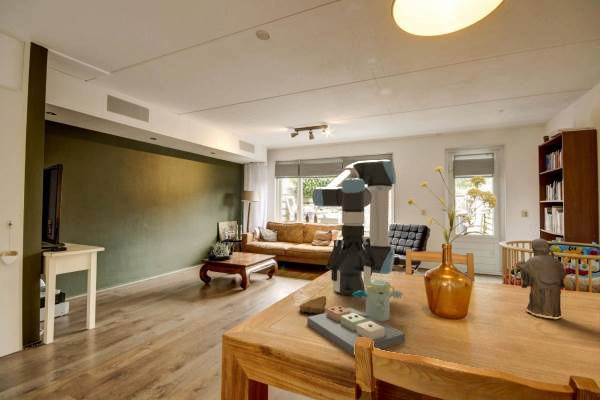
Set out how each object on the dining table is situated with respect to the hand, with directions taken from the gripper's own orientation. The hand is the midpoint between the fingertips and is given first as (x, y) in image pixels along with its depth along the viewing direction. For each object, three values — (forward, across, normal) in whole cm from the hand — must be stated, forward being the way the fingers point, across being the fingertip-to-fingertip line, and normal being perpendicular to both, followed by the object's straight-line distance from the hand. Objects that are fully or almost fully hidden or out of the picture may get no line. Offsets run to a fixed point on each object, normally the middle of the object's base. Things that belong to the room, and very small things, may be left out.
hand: (352, 288), depth 97 cm
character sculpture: (+15, -17, -5) cm, 23 cm away
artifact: (+15, +1, -23) cm, 28 cm away
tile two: (+13, 0, 0) cm, 13 cm away
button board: (+15, 0, 0) cm, 15 cm away
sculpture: (+15, -78, +24) cm, 82 cm away
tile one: (+13, 0, +8) cm, 15 cm away
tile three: (+13, 0, -8) cm, 15 cm away
